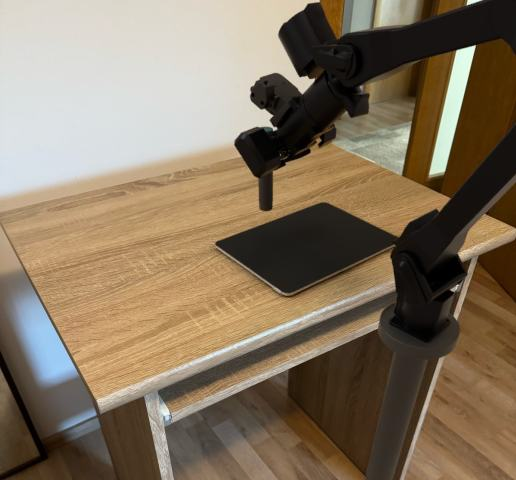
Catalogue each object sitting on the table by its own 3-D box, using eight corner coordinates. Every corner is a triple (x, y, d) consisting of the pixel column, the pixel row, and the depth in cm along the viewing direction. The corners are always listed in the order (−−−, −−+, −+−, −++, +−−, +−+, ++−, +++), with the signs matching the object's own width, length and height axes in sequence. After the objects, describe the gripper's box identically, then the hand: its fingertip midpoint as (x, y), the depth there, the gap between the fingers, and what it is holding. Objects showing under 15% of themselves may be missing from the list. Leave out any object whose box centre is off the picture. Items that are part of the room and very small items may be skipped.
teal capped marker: (275, 210, 82) (275, 130, 74) (261, 212, 82) (260, 132, 73) (269, 204, 84) (269, 125, 76) (256, 206, 84) (255, 127, 75)
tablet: (286, 295, 73) (211, 243, 85) (285, 299, 73) (211, 246, 85) (403, 239, 85) (324, 201, 97) (402, 243, 85) (323, 204, 97)
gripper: (326, 44, 71) (268, 111, 84) (241, 68, 60) (189, 141, 73) (366, 111, 72) (303, 167, 85) (290, 146, 62) (231, 204, 74)
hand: (259, 168), depth 79 cm, fingers closed on teal capped marker, 2 cm apart
